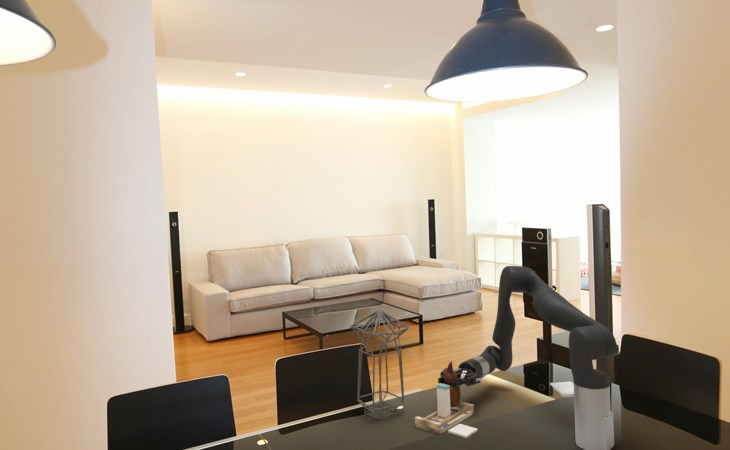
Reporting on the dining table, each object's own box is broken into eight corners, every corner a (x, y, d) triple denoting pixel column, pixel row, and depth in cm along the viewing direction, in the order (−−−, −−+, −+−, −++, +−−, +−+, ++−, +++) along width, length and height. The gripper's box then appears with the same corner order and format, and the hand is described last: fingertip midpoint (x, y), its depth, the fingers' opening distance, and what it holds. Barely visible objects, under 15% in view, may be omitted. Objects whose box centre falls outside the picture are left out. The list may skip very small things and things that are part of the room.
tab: (450, 416, 164) (449, 385, 164) (447, 418, 163) (445, 387, 163) (441, 413, 167) (440, 383, 167) (437, 415, 165) (436, 384, 165)
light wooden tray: (474, 413, 170) (473, 404, 170) (439, 434, 155) (438, 424, 155) (450, 407, 176) (450, 398, 176) (415, 427, 161) (414, 417, 161)
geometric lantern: (384, 401, 184) (382, 304, 183) (413, 415, 171) (412, 311, 170) (348, 412, 175) (346, 310, 174) (376, 428, 162) (374, 317, 161)
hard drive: (549, 382, 193) (563, 394, 181) (571, 381, 193) (586, 392, 181) (550, 387, 193) (563, 398, 181) (571, 385, 193) (586, 397, 181)
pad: (477, 430, 156) (477, 428, 156) (466, 438, 152) (466, 436, 152) (459, 425, 161) (459, 423, 161) (448, 432, 156) (447, 430, 156)
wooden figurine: (460, 409, 164) (458, 363, 164) (442, 409, 166) (440, 362, 165) (461, 401, 171) (458, 356, 170) (443, 401, 172) (441, 356, 172)
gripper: (455, 355, 183) (427, 368, 171) (492, 362, 173) (464, 375, 161) (456, 376, 183) (428, 390, 171) (493, 384, 174) (465, 399, 161)
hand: (446, 383), depth 166 cm, fingers closed on wooden figurine, 4 cm apart
